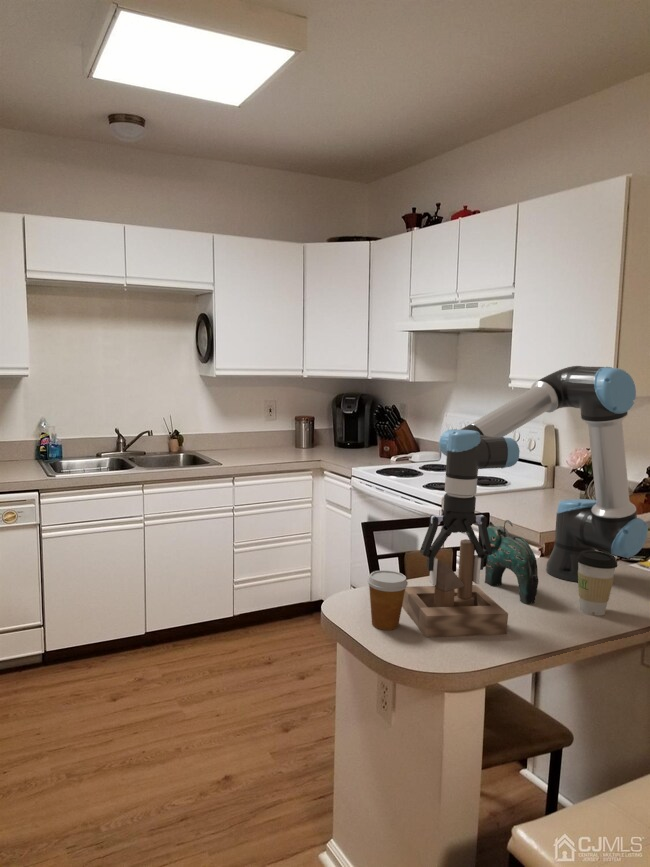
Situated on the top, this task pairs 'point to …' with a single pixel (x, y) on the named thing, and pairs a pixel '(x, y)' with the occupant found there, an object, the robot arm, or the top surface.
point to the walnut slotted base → (454, 614)
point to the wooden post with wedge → (456, 580)
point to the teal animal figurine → (511, 562)
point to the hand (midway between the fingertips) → (454, 582)
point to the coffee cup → (595, 580)
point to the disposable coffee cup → (386, 598)
